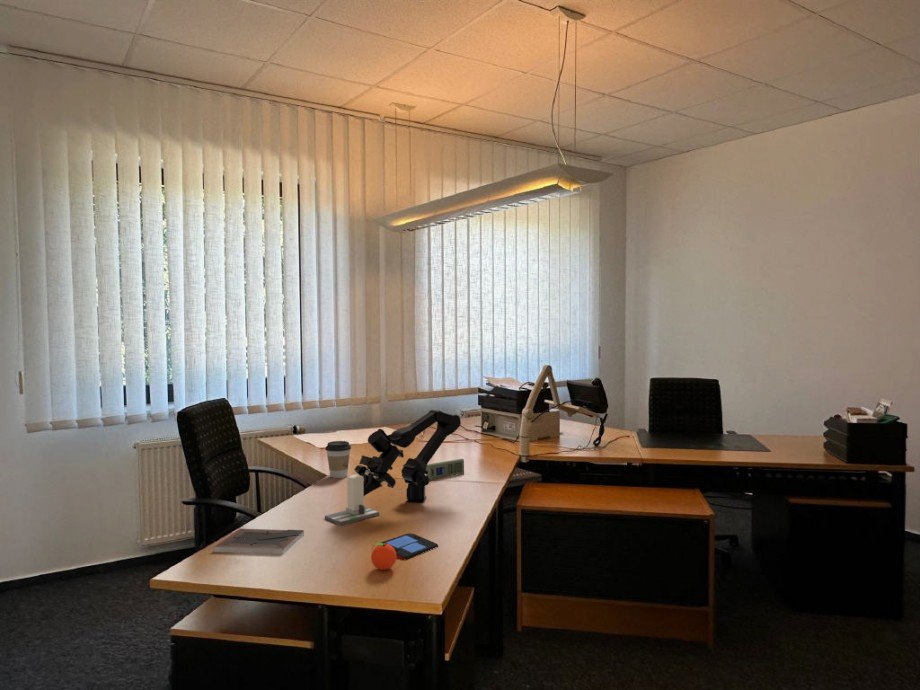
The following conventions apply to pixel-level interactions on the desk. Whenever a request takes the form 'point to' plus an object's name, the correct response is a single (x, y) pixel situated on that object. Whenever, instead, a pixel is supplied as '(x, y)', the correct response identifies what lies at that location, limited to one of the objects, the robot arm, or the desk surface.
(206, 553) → the desk surface
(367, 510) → the board
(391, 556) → the clementine
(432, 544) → the game console
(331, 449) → the coffee cup
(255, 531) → the picture frame
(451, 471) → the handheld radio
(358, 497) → the white tall block
